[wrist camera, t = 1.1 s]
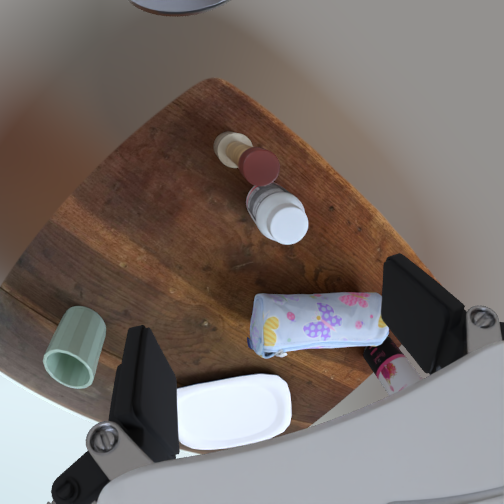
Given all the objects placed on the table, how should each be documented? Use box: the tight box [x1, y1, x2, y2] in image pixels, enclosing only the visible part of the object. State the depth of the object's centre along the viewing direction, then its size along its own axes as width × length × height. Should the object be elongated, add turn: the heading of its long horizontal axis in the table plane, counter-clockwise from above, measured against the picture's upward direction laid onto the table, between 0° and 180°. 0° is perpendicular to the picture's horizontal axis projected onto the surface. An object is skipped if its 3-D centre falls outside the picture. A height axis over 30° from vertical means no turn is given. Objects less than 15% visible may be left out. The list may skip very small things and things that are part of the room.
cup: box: [43, 306, 106, 389], centre depth 36 cm, size 7×7×10 cm
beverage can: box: [363, 336, 422, 396], centre depth 48 cm, size 6×7×15 cm
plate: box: [177, 373, 291, 450], centre depth 54 cm, size 25×25×2 cm
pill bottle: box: [246, 182, 308, 245], centre depth 34 cm, size 5×5×10 cm
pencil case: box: [247, 292, 389, 358], centre depth 42 cm, size 21×9×10 cm, turn 84°
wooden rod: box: [214, 132, 280, 186], centre depth 26 cm, size 4×4×18 cm
